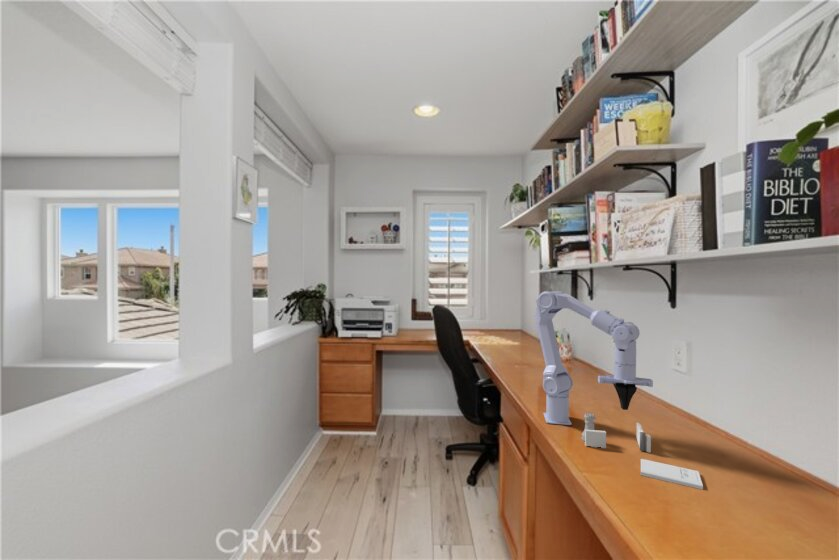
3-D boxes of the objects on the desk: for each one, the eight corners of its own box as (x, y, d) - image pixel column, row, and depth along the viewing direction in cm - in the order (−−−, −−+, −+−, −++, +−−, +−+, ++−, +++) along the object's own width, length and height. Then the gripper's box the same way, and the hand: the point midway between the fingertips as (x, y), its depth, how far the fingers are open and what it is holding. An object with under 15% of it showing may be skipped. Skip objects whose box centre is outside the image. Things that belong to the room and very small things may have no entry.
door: (640, 437, 116) (640, 422, 116) (644, 451, 107) (645, 433, 107) (635, 437, 116) (636, 421, 116) (639, 450, 107) (640, 433, 107)
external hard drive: (640, 464, 101) (698, 476, 95) (640, 477, 94) (703, 492, 88) (640, 457, 101) (698, 469, 95) (640, 471, 94) (703, 485, 88)
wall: (584, 444, 111) (585, 429, 111) (649, 450, 108) (649, 434, 108) (585, 446, 110) (585, 430, 110) (650, 452, 106) (650, 436, 106)
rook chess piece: (583, 443, 112) (583, 416, 112) (579, 437, 117) (580, 410, 117) (599, 444, 111) (599, 417, 111) (595, 438, 116) (595, 411, 116)
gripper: (602, 364, 111) (601, 411, 111) (657, 367, 108) (656, 415, 109) (596, 359, 118) (595, 403, 118) (647, 362, 115) (647, 407, 115)
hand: (624, 408), depth 114 cm, fingers closed
